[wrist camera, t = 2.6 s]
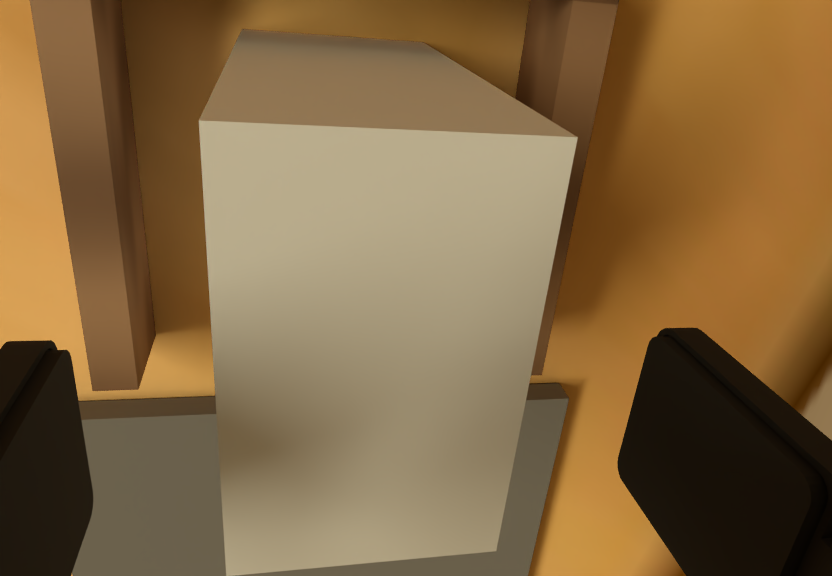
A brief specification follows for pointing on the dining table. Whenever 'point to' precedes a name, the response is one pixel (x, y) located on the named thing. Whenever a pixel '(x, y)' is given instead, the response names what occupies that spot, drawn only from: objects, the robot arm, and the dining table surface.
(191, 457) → the mat
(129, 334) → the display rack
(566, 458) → the dining table surface
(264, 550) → the blank block
